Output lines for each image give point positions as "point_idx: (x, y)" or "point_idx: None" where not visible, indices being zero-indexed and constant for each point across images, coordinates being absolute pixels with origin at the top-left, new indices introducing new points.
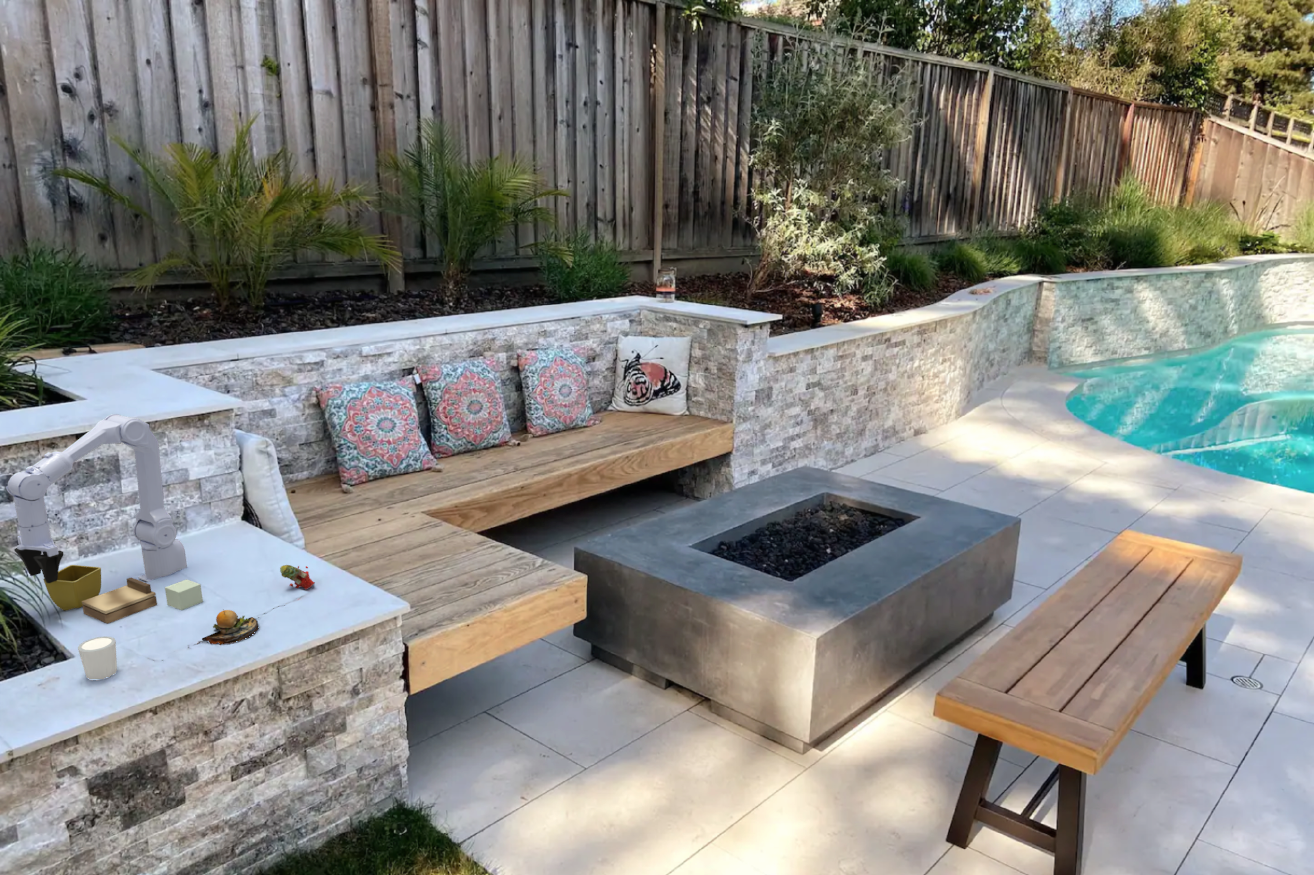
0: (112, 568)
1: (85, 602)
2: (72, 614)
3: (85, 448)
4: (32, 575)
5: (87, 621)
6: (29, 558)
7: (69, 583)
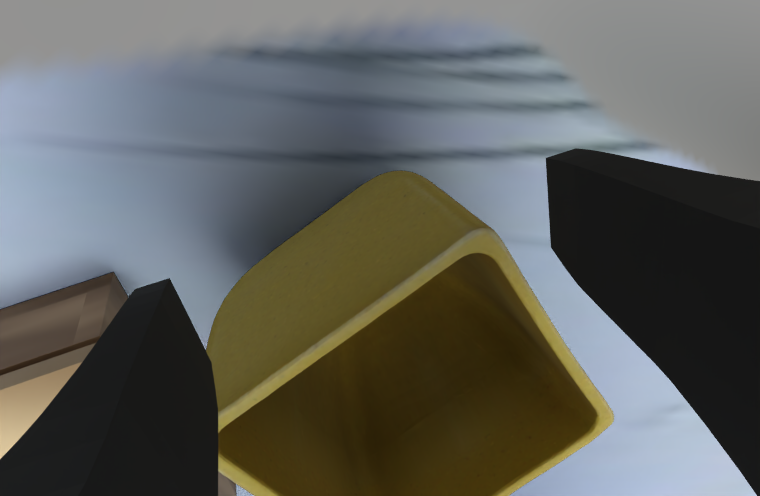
0: None
1: (47, 378)
2: (256, 221)
3: None
4: (548, 169)
5: (63, 281)
6: (727, 299)
7: (223, 399)
